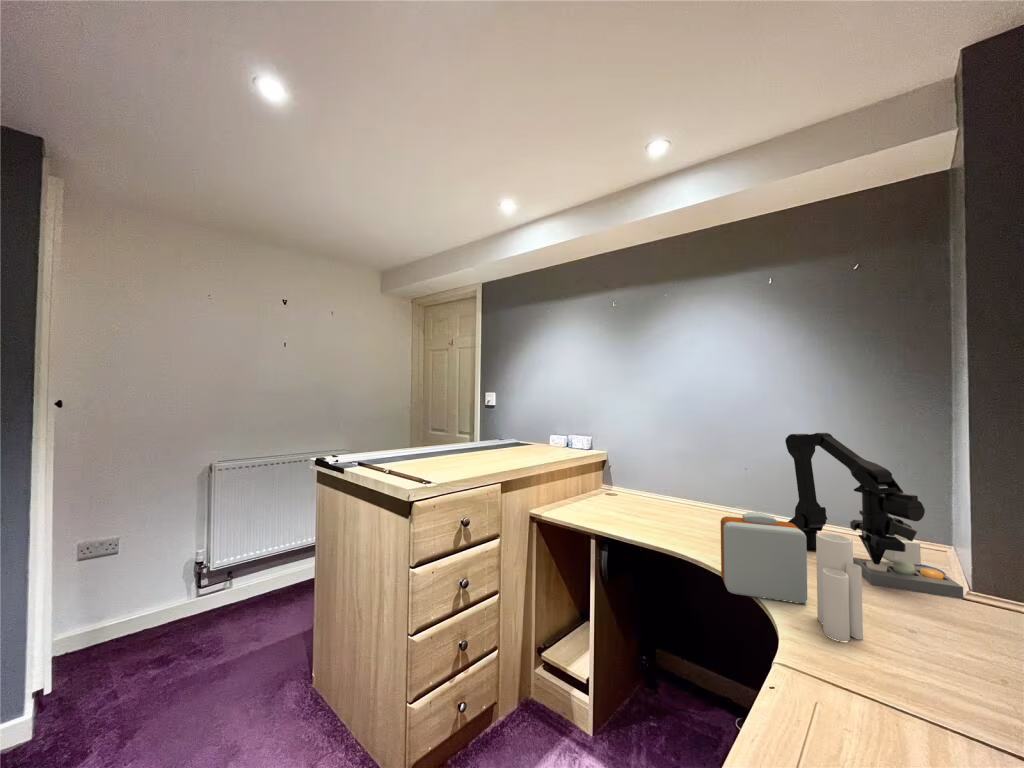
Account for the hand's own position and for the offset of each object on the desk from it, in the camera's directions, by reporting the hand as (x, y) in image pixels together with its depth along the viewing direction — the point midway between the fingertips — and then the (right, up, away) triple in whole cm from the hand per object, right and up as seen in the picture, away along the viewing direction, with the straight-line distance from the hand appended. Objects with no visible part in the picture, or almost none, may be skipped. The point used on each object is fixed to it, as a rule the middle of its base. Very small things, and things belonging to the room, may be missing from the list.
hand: (876, 564), depth 114 cm
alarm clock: (-39, -4, -8) cm, 40 cm away
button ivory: (0, -3, 0) cm, 3 cm away
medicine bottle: (+19, -5, +12) cm, 23 cm away
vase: (-32, -3, -25) cm, 41 cm away
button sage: (+6, -2, -2) cm, 6 cm away
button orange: (+11, -3, -5) cm, 12 cm away
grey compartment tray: (+6, -4, -3) cm, 7 cm away
